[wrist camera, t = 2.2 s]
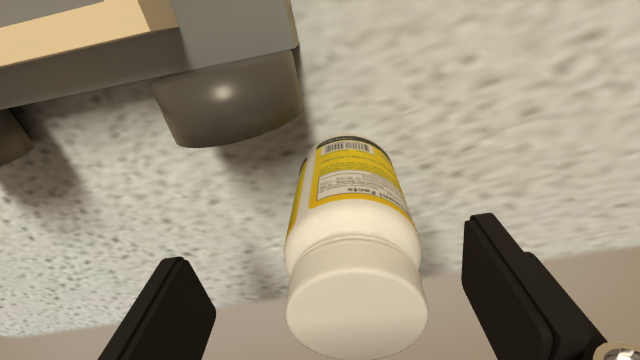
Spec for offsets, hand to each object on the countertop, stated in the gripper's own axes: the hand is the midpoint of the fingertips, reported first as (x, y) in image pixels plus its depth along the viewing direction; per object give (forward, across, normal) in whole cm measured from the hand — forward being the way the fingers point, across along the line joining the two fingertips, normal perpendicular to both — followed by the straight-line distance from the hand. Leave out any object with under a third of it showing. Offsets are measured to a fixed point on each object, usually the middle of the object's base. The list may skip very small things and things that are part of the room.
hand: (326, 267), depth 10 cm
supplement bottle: (+6, -1, 0) cm, 7 cm away
